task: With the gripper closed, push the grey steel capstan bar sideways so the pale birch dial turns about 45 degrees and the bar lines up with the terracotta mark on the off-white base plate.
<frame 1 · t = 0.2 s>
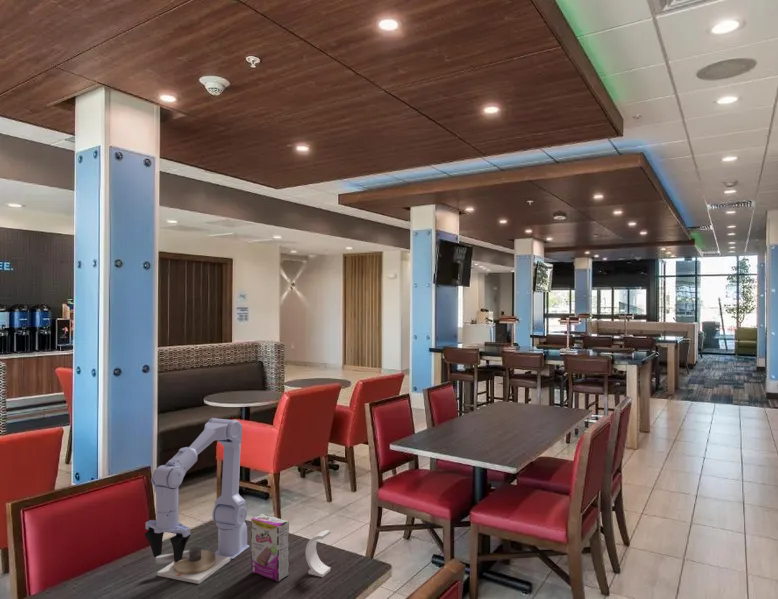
hand: (167, 557, 150), 10 cm above the table, tool pointing down, fingers open, 7 cm apart
candy bar box: (269, 574, 160), on the table
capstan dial: (186, 558, 163), point 3 cm above the table, hinge at 0.0°
base plate: (194, 567, 164), on the table
headphone stand: (318, 572, 161), on the table
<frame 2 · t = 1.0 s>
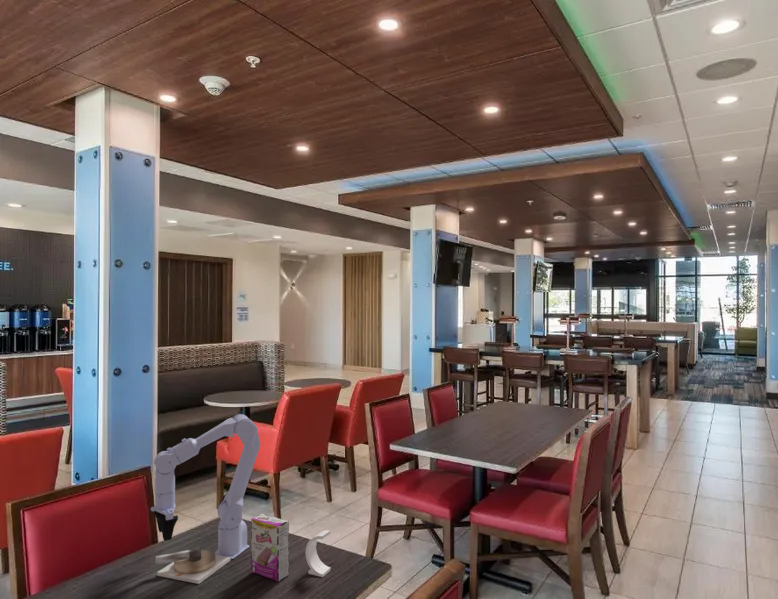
hand: (165, 535, 165), 9 cm above the table, tool pointing down, fingers open, 7 cm apart
nothing on the table moved.
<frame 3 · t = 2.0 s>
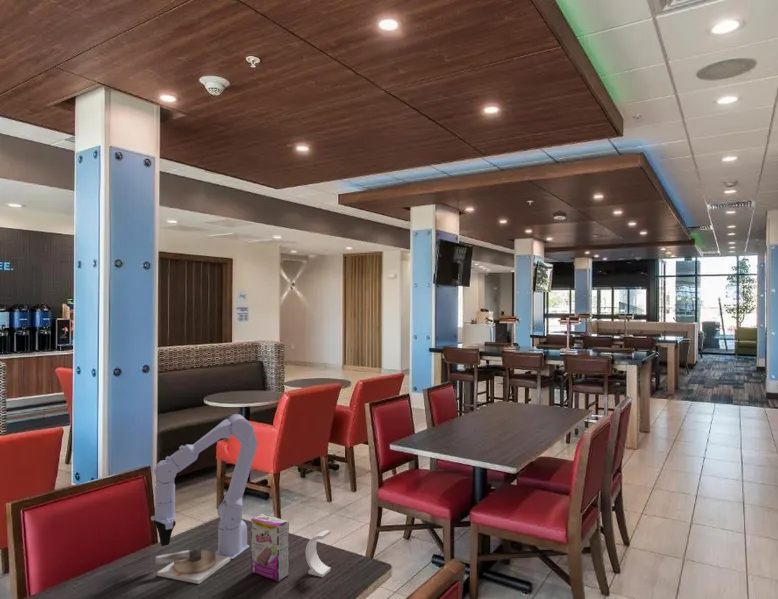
hand: (164, 544, 165), 7 cm above the table, tool pointing down, fingers closed
nothing on the table moved.
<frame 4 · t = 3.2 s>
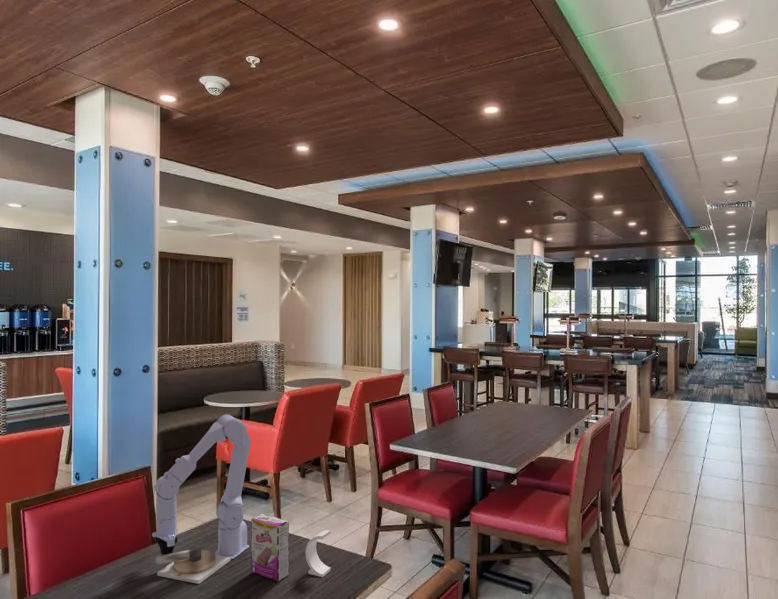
hand: (166, 561, 163), 2 cm above the table, tool pointing down, fingers closed
nothing on the table moved.
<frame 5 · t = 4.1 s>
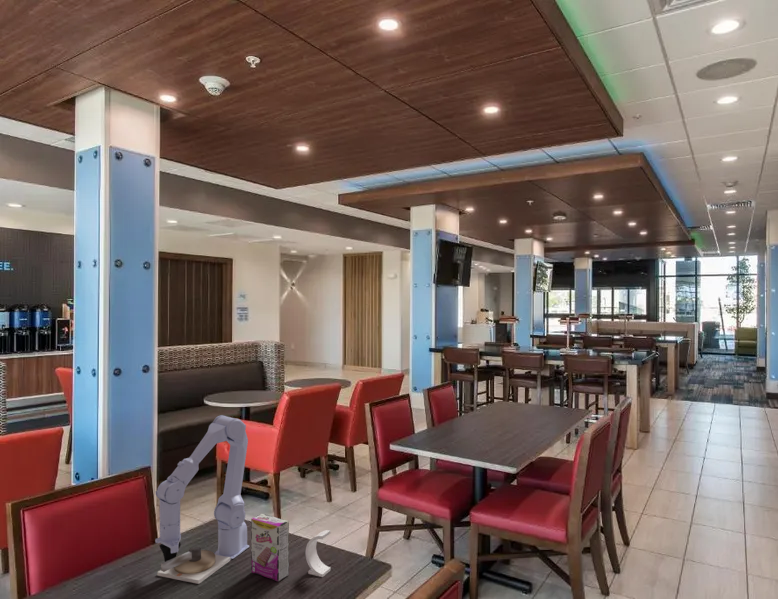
hand: (170, 567, 159), 2 cm above the table, tool pointing down, fingers closed, pressing on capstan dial
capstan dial: (187, 560, 162), point 3 cm above the table, hinge at 31.0°, touching gripper
everything else where it was.
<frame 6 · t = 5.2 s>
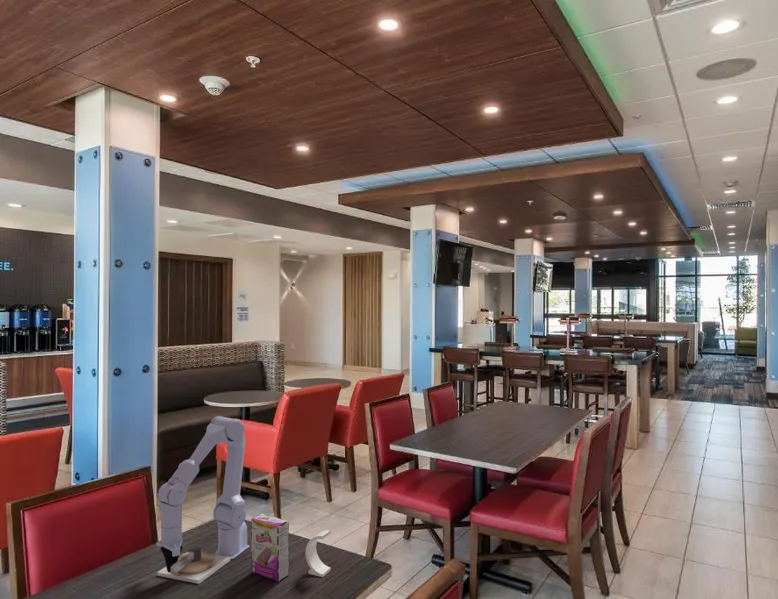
hand: (171, 571, 157), 2 cm above the table, tool pointing down, fingers closed
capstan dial: (190, 560, 162), point 3 cm above the table, hinge at 51.6°, touching gripper
everything else where it was.
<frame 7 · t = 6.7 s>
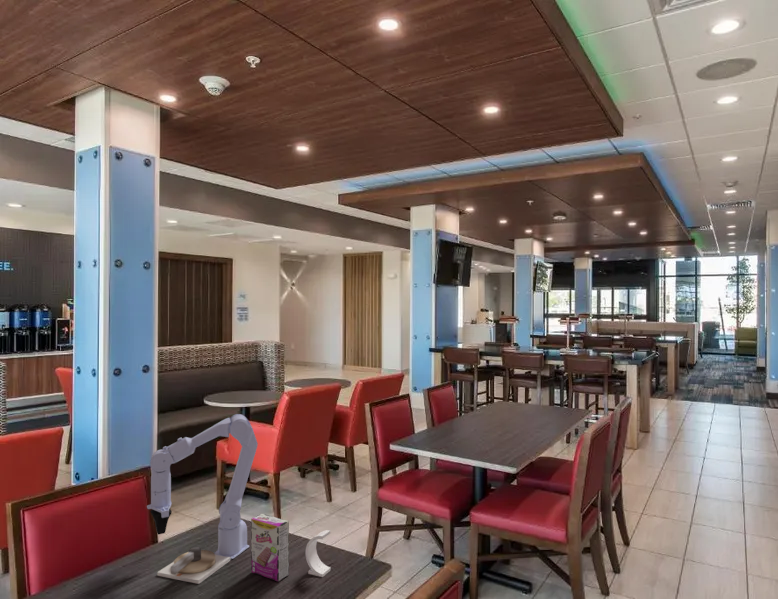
hand: (161, 533, 167), 9 cm above the table, tool pointing down, fingers closed
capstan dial: (190, 560, 162), point 3 cm above the table, hinge at 51.8°
everything else where it was.
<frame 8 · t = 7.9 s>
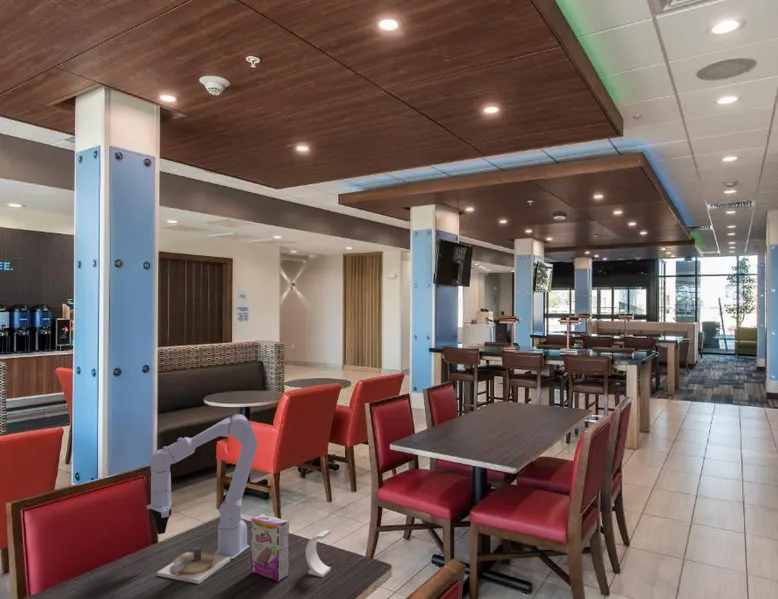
hand: (161, 533, 167), 9 cm above the table, tool pointing down, fingers closed
nothing on the table moved.
at the end: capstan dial at +52° (first picture: +0°) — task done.
